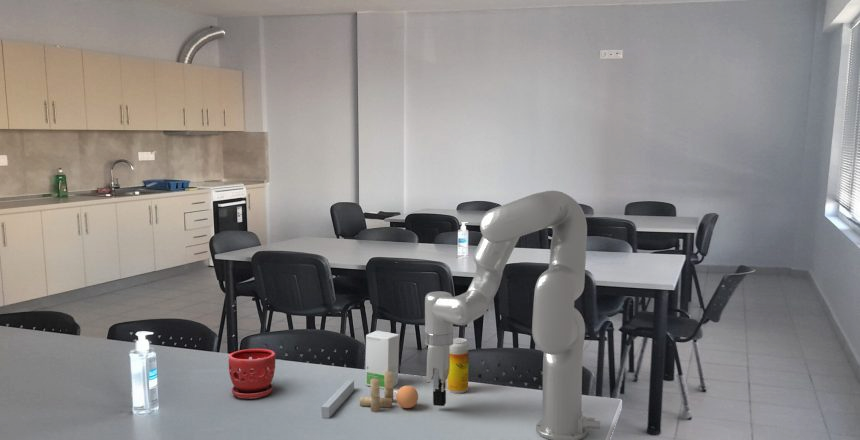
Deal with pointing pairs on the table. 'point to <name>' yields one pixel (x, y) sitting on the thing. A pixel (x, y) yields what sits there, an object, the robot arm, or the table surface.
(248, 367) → the plant pot
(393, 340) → the skincare box
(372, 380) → the rear pin left
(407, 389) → the ball
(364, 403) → the front pin
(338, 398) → the back rail
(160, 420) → the table surface
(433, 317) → the robot arm
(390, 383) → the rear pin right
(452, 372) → the yellow canister
